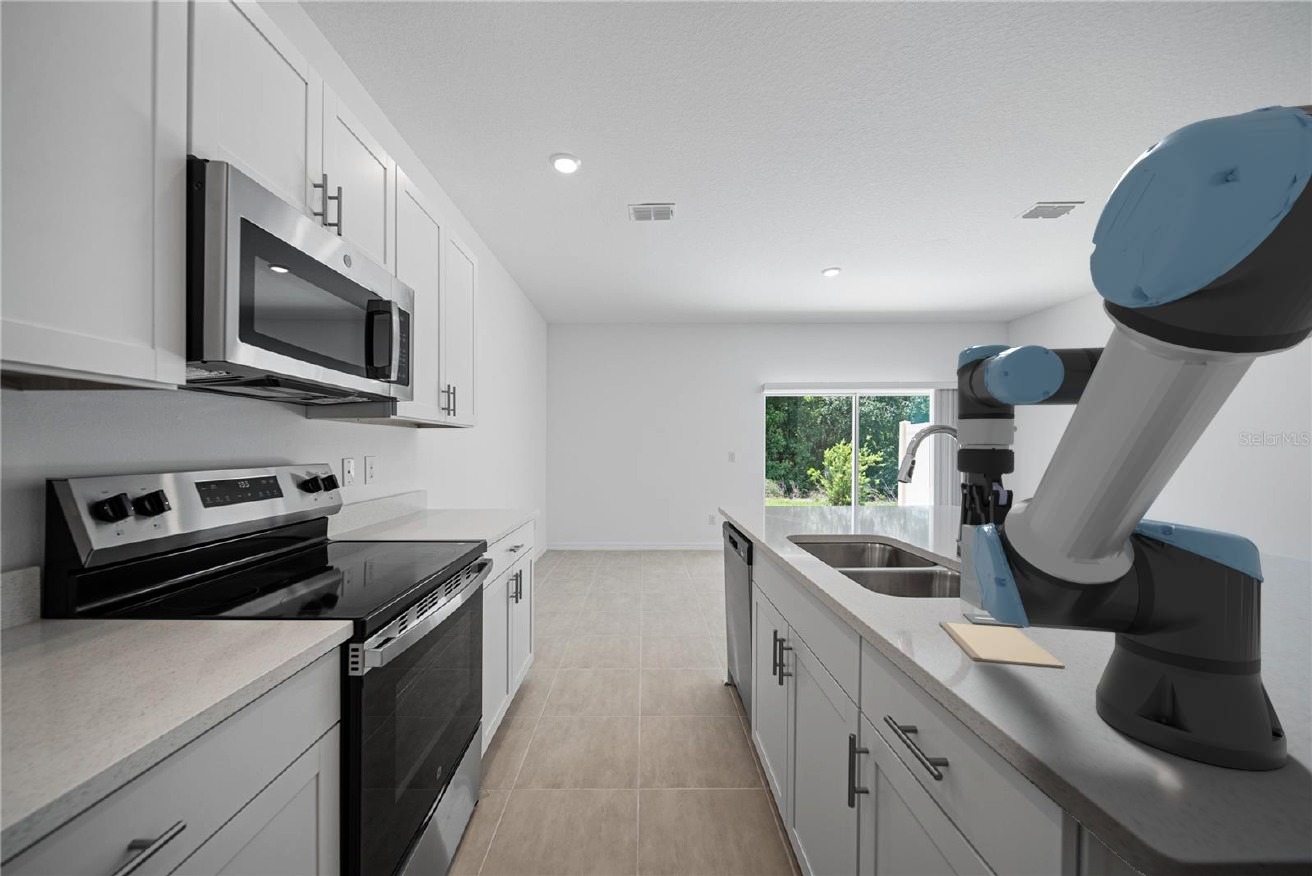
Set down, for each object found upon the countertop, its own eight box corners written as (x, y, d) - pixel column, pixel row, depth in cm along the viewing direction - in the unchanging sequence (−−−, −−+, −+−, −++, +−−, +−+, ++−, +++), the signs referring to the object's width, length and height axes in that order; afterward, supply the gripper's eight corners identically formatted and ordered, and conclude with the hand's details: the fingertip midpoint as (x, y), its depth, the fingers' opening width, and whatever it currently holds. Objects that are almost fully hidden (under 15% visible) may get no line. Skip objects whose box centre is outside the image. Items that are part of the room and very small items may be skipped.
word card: (1023, 627, 93) (1023, 625, 93) (973, 623, 95) (973, 621, 95) (1010, 618, 98) (1010, 616, 98) (963, 614, 100) (962, 612, 100)
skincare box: (1009, 611, 79) (1011, 531, 79) (980, 611, 80) (982, 531, 79) (985, 599, 86) (987, 524, 85) (958, 598, 86) (960, 524, 85)
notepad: (1064, 667, 76) (1064, 665, 76) (972, 660, 79) (972, 657, 79) (1014, 629, 92) (1014, 627, 92) (938, 624, 94) (938, 621, 94)
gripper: (1044, 449, 72) (1043, 619, 72) (986, 446, 91) (985, 581, 91) (983, 448, 74) (981, 615, 74) (939, 446, 93) (938, 578, 93)
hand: (984, 596), depth 82 cm, fingers closed on skincare box, 6 cm apart
